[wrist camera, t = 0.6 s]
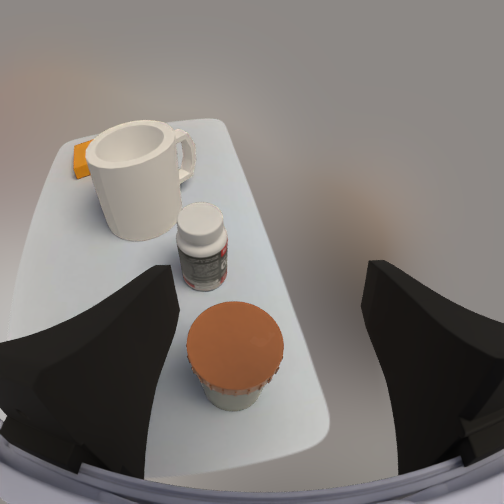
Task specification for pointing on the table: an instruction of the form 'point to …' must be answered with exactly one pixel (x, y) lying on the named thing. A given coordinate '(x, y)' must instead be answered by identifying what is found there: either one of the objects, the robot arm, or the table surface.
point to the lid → (234, 348)
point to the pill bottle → (202, 246)
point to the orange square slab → (81, 160)
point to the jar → (231, 399)
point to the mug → (140, 176)
